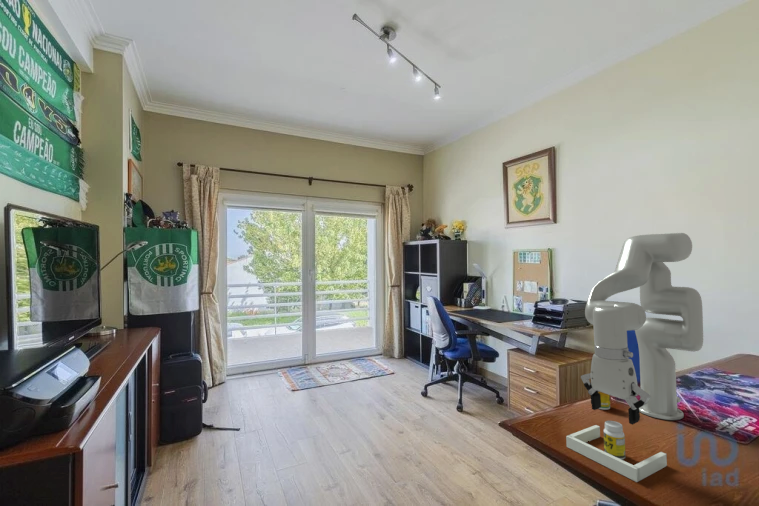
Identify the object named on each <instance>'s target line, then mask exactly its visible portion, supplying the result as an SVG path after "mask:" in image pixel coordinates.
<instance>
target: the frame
mask: <svg viewBox="0 0 759 506" xmlns="http://www.w3.org/2000/svg"><path fill="white" fill-rule="evenodd" d="M565 437H566V438H565V439H566V443H565V444H566V448H568V449H570V450H572V451H574V452H576V453H578V454H580V455H582V456H584V457H586V458H588V459H590V460H592V461H594V462H595V463H598V464H600V465H602V466H603V467H606V468H607V469H609V470H612V471H614V472H615V473H618V474H619V475H621V476H624V477H626V478H628V479H630V480H631V481H634V482H635V483H638V482H640V481H642V480H644V479H645V478H647V477H649V476H651V475H653V474H655V473H656V472H658V471H660V470H663V468H666V467H667V466H668V464H667V463H668V460H667V459H668V458H667V453H665V452H663V451H660V452H658V453H656V454H654V455H651V456H649V457H648V458H645V459H644V460H641V461H640V462H637V463H636V464H634V465H633V464H632V463H630V462H627V461H625V460H624V459H622V460H621V459H619V458H617V457H615V456H613V455H610V454H608V453H606V452H604V450H602V449H601V448H597V447H595V446H594V445H592V444H589V442H591V441H593V440H596V439H599V438H600V437H601V427H600V426H599V425H597V424H595V425H592V426H589V427H587V428H583V429H582V430H578V431H577V432H573V433H570V434H568V435H566V436H565ZM588 441H589V442H588Z"/></svg>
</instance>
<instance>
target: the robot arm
mask: <svg viewBox="0 0 759 506" xmlns="http://www.w3.org/2000/svg"><path fill="white" fill-rule="evenodd" d="M692 251H693V242H692V238H691V237H690V236H689V235H688V234H686V233H684V232H672V233H655V234H654V233H652V234H639V235H634V236H630V237H628V238H626V240H625V241H624V242H623V243H622V246H621V250H620V253H619V257H618V259H617V262H616V266H615V270H614V272H611V273H610V274H608V275H607V276H605V277H603V278H602V279H601V280H600V281H598V282H597V283H596V284H595V285H594V286H593V287H592V288H591V290H590V293H589V295H588V298H587V300H586V304H585V309H584V315H585V319H586V320H587V322H588V323H589V324H591V325H592V326H593V344H594V345H593V346H594V347H593V348H594V354H592V357H591V358H592V359H591V362H590V363H591V364H590V373H586V374H582V375H580V379H581V381H582V382H583V386H584V387H585V389H586V390H587V391H588V394H589V395H590V405H591V409H592V410H593V411H596V410H600V409H599V408H601V395H600V393H598V392H602V393H605V394H608V395H610V397H611V396H612V397H615V398H618V399H622V400H625V402H626V403H627V405H628V406H629V408H628V409H627V410H628V413H627V414H628V423H629V424H630V425H634V424H637V423H639V421H640V420H641V415H640V413H641V414H643V415H646V416H648V417H652V418H655V419H659V420H660V419H661V420H666V421H679V420H682V419H683V418H684V416H685V415H684V412H683V411H682V410H681V409H680V408H678V403H680V402H681V401H682V400H681V397H679V396H677V394H678V393H677V392H678V391H677V376H676V370H677V369H676V361H675V359H674V357H673V355H672V354H671V353H670V352H669V350H676V351H683V352H684V351H685V352H699V351H700V350H701V349H702V348H703V346H704V345H703V344H704V322H703V321H704V320H703V319H704V317H703V301H702V296H701V293H700V292H699V291H698V290H697V289H695V288H693V287H689V286H673V285H672V272H671V270H670V268H669V267H668V265H666V263H677V262H682V261H684V260H686V259H687V258H689V257H690V256H691V254H692ZM637 288H639V304H638V303H635V302H628V301H627V302H625V301H612V300H607V299H609V298H610V297H612V296H614V295H617V294H619V293H624V292H626V291H630V290H633V289H637ZM646 313H648V314H655V315H663V316H664V315H665V316H674V317H676V316H677V317H681V319H682V320H681V319H679V320H678V319H670V318H669V319H668V318H661V317H647V315H646ZM628 331H634V333H635V336H636V341H637V344H638V345H637V346H638V354H639V357H638V358H639V377H640V379H639V380H640V386H639V385H638V378H637V372H636V369H635V366H634V362H633V360H632V359H631V358H633V357H634V353H633V352H631V351H629V347H628ZM668 349H669V350H668ZM637 396H639V397H640V398H639V400H638V398H637Z"/></svg>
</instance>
